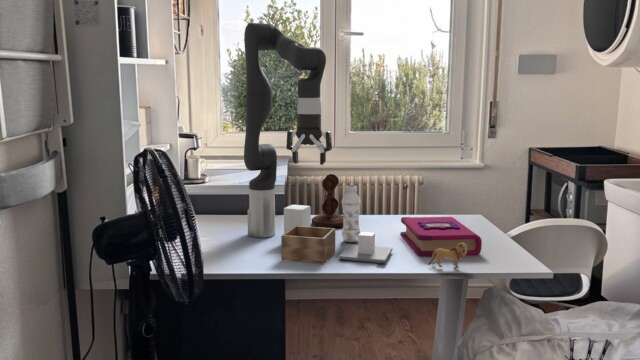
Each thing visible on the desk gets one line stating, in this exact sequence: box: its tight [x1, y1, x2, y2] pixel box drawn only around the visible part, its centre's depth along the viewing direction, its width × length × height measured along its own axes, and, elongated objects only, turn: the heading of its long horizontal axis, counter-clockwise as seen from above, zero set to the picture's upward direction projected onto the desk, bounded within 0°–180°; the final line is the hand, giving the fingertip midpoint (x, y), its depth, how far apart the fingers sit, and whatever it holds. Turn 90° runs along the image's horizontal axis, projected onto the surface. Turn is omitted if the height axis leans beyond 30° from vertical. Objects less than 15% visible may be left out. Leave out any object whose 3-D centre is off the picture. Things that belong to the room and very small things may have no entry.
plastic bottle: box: [341, 184, 362, 243], centre depth 213 cm, size 6×7×20 cm
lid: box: [338, 231, 393, 265], centre depth 197 cm, size 15×15×8 cm
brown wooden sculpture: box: [311, 173, 344, 229], centre depth 238 cm, size 15×15×20 cm
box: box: [280, 226, 336, 265], centre depth 197 cm, size 14×14×8 cm
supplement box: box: [283, 204, 312, 234], centre depth 214 cm, size 7×7×13 cm
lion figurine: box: [427, 243, 467, 269], centre depth 187 cm, size 12×4×7 cm, turn 90°
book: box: [399, 216, 483, 258], centre depth 212 cm, size 21×28×8 cm
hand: (309, 163), depth 193 cm, fingers open, 8 cm apart
